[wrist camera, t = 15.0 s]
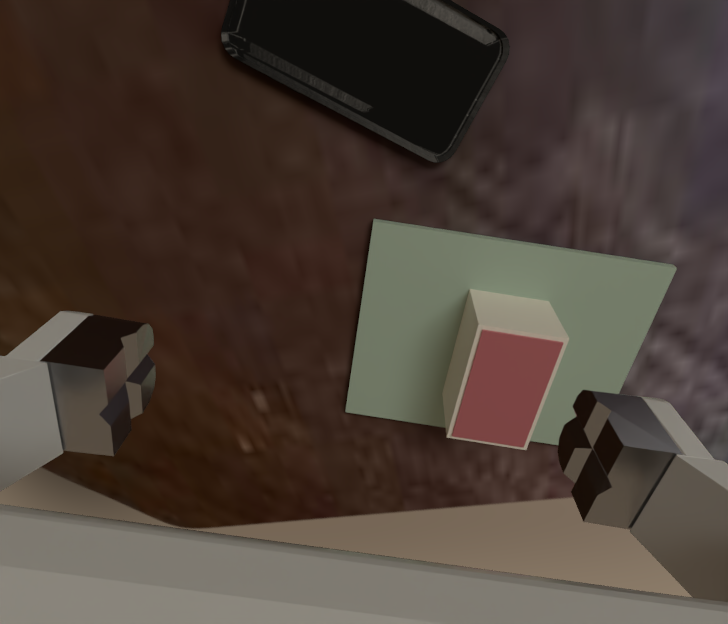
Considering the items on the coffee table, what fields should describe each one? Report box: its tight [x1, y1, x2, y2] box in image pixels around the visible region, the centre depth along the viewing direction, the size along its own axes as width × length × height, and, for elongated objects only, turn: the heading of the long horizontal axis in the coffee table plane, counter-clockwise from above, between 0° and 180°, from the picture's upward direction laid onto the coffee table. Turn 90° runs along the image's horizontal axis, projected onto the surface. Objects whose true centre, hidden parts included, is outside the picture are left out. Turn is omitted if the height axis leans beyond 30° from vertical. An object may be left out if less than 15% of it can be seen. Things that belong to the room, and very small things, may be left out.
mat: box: [345, 219, 677, 445], centre depth 37 cm, size 20×16×1 cm
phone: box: [221, 0, 510, 162], centre depth 29 cm, size 8×1×15 cm
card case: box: [442, 289, 569, 450], centre depth 34 cm, size 9×6×5 cm, turn 172°
